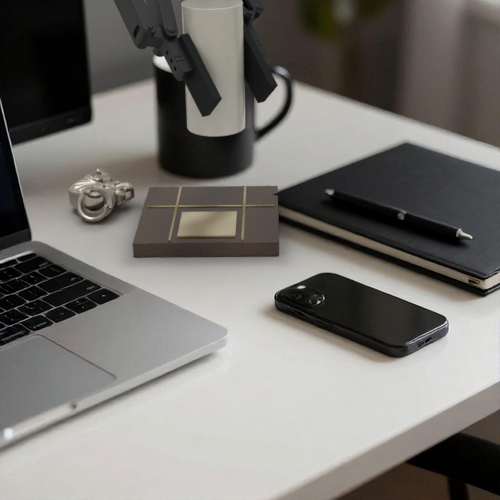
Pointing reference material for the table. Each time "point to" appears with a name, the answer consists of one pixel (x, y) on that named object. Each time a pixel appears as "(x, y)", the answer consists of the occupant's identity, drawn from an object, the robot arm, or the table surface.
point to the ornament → (98, 195)
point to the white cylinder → (218, 63)
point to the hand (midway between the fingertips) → (240, 100)
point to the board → (208, 222)
